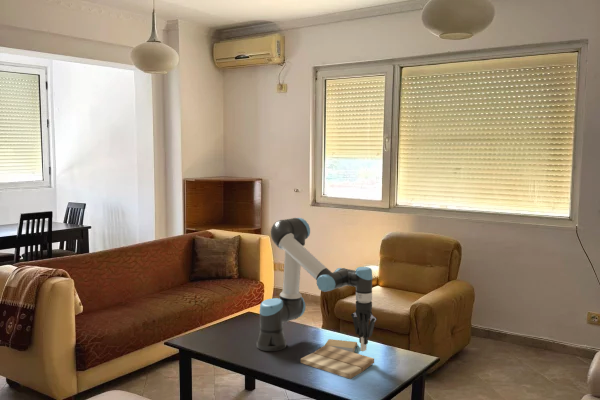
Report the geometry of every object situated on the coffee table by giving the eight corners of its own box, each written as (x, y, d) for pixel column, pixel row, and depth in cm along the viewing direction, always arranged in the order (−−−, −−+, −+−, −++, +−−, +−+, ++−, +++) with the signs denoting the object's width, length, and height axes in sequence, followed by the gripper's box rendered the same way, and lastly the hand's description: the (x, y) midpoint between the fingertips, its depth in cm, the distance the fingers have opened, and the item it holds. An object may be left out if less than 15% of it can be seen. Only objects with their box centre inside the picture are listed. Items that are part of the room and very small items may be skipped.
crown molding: (352, 356, 256) (352, 349, 255) (323, 353, 260) (323, 346, 259) (357, 346, 269) (357, 340, 269) (329, 343, 273) (329, 337, 273)
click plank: (313, 356, 254) (313, 352, 254) (325, 348, 262) (325, 344, 261) (362, 371, 236) (362, 367, 236) (374, 362, 244) (374, 358, 244)
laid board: (300, 362, 246) (300, 358, 246) (312, 356, 254) (312, 352, 254) (350, 378, 229) (350, 374, 229) (362, 371, 236) (362, 367, 236)
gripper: (347, 300, 245) (347, 349, 247) (371, 305, 236) (371, 356, 238) (356, 296, 250) (356, 344, 252) (380, 301, 242) (379, 351, 244)
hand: (363, 350), depth 245 cm, fingers closed
